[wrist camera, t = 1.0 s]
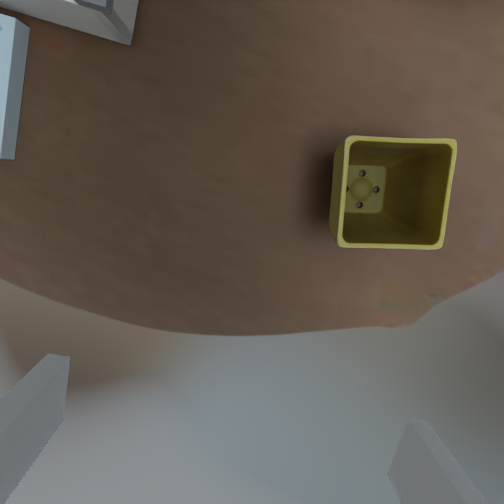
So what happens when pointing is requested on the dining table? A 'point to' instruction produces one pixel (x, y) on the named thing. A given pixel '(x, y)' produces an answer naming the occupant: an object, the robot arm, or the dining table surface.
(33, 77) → the dining table surface
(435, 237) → the flower pot
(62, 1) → the bay
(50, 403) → the robot arm
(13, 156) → the tray
